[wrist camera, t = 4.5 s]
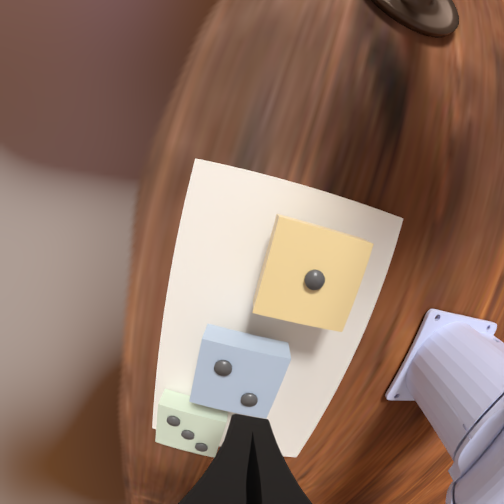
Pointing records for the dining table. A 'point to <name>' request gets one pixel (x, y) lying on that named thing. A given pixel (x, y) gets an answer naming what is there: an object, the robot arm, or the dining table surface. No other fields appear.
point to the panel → (245, 283)
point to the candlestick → (423, 15)
